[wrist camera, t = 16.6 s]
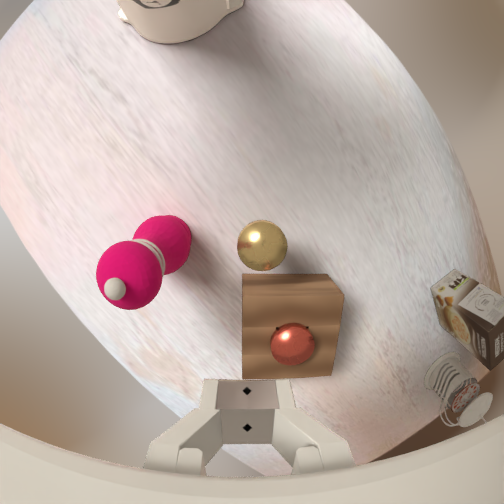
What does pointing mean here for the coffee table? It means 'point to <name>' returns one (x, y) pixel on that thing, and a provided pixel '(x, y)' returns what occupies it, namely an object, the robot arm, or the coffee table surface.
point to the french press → (449, 379)
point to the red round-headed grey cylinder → (292, 344)
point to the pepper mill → (143, 262)
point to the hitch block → (289, 311)
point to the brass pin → (261, 245)
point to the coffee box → (471, 316)
